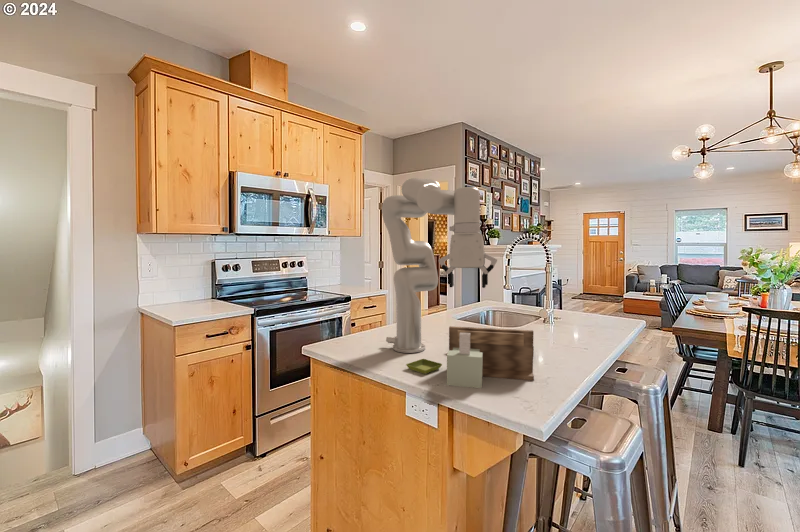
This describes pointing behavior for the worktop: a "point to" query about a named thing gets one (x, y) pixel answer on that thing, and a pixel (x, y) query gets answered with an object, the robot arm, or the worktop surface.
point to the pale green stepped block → (464, 364)
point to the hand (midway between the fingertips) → (467, 287)
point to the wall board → (500, 350)
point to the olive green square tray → (424, 366)
